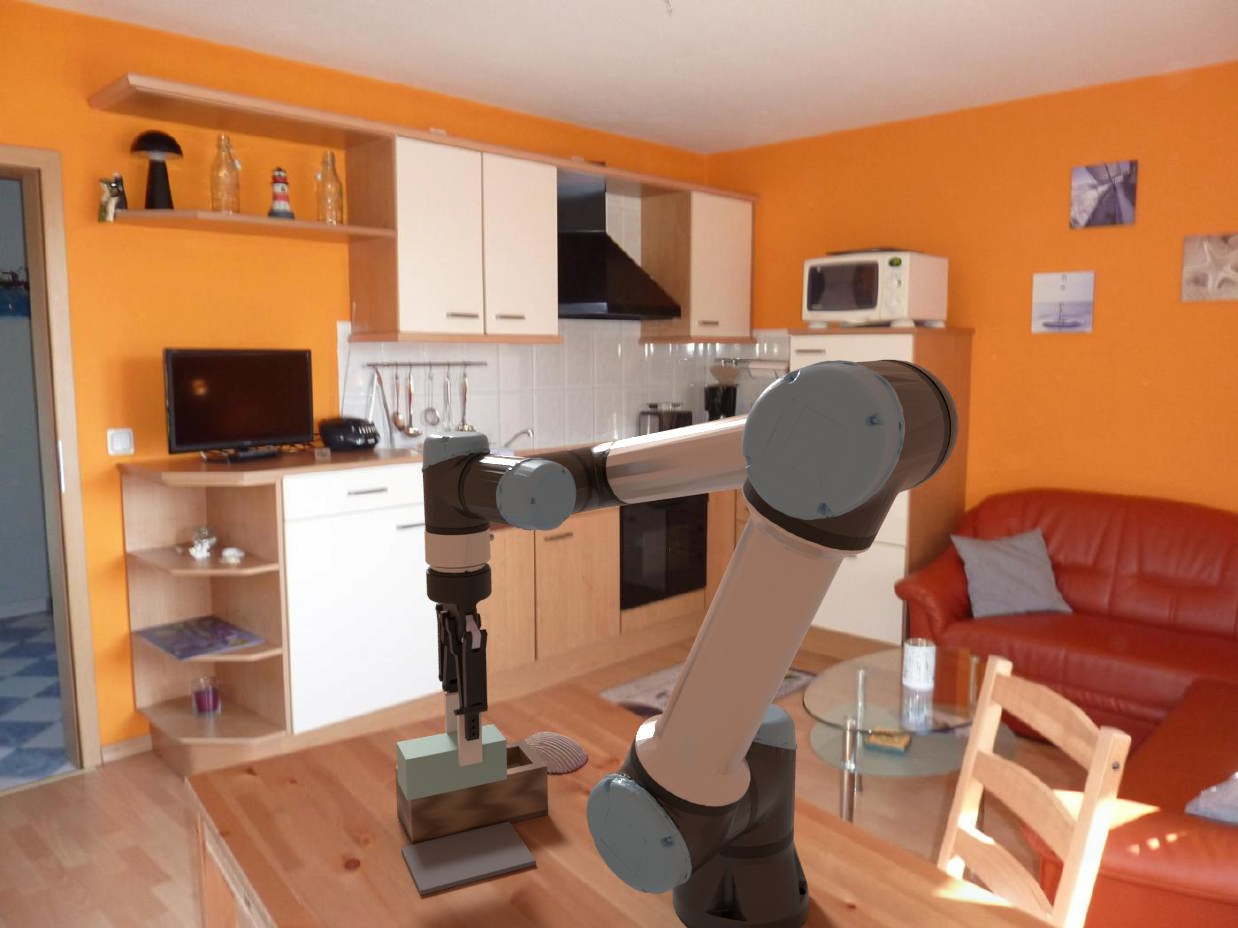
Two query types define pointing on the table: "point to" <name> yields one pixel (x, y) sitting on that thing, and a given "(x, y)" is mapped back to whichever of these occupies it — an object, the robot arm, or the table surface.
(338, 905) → the table surface
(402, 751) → the part
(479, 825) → the frame
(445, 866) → the mat
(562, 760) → the seashell
